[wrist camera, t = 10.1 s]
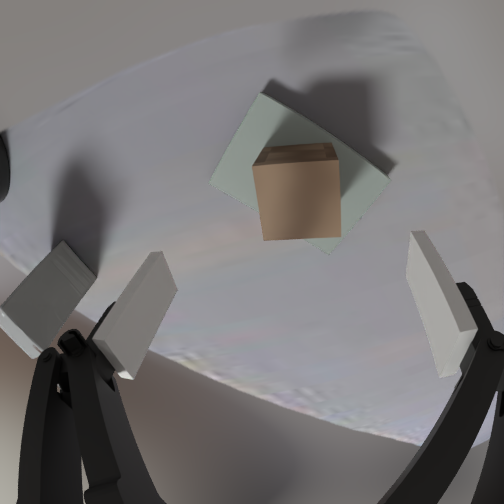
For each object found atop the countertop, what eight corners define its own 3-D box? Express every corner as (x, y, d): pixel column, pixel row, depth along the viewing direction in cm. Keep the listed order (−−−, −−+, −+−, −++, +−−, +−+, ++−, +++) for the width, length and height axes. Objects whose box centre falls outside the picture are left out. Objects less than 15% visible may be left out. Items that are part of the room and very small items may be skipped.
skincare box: (50, 255, 40) (-10, 318, 27) (66, 235, 37) (-4, 305, 24) (82, 292, 43) (30, 362, 30) (102, 278, 40) (43, 356, 27)
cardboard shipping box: (272, 208, 28) (263, 240, 23) (263, 147, 25) (251, 166, 20) (335, 205, 27) (341, 237, 22) (331, 142, 24) (338, 160, 19)
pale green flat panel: (212, 178, 29) (194, 199, 25) (262, 91, 24) (251, 94, 19) (328, 247, 31) (330, 279, 27) (387, 175, 26) (403, 196, 21)
